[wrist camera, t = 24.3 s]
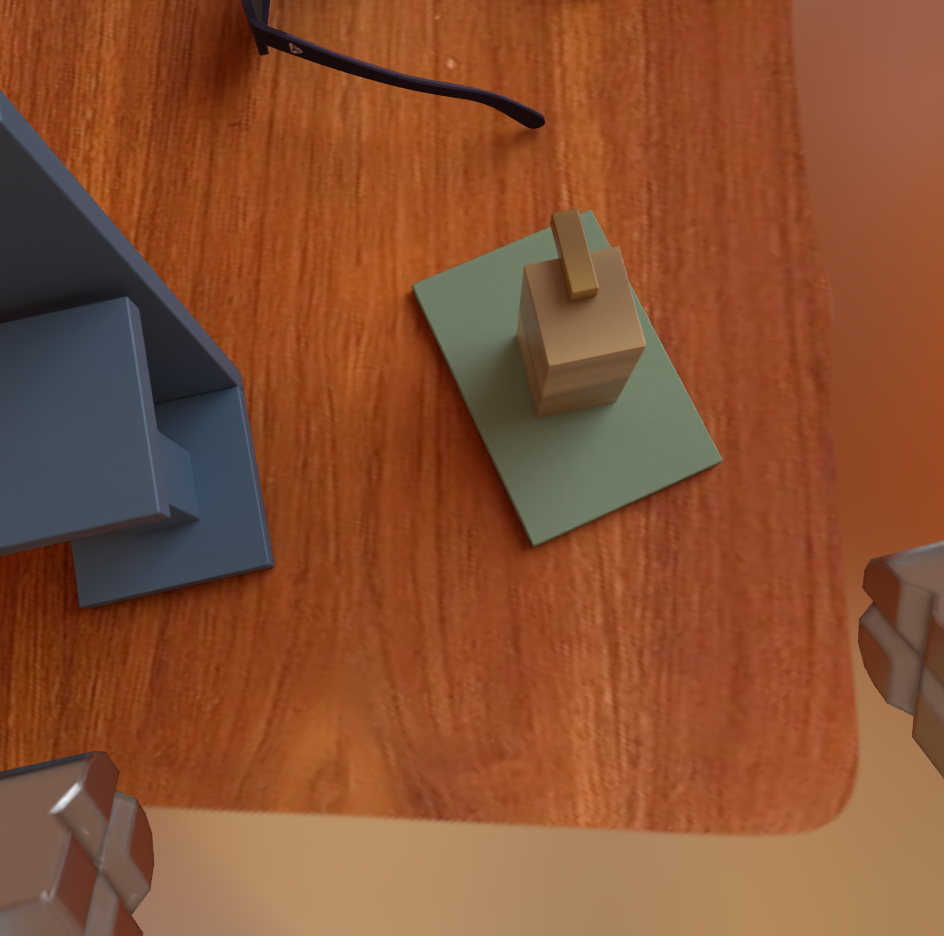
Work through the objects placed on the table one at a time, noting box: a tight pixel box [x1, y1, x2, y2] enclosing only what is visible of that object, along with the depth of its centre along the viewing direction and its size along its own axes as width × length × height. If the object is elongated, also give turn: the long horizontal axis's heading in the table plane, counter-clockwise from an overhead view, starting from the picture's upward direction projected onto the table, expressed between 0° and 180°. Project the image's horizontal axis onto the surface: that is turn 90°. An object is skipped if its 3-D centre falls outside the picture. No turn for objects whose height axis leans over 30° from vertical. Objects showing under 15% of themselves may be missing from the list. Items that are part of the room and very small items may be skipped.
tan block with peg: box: [516, 208, 646, 419], centre depth 34 cm, size 5×4×8 cm, turn 12°
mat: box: [412, 210, 722, 547], centre depth 38 cm, size 13×9×1 cm
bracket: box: [0, 90, 274, 608], centre depth 28 cm, size 9×8×20 cm
